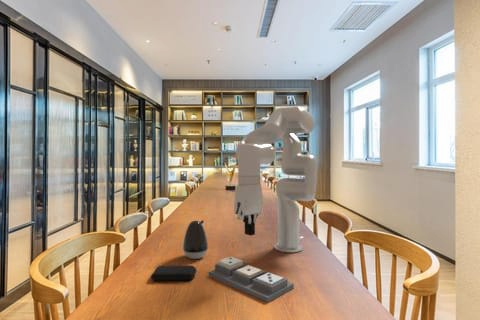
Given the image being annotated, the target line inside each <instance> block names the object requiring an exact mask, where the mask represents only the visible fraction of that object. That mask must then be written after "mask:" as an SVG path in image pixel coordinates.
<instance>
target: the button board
mask: <svg viewBox="0 0 480 320" xmlns="http://www.w3.org/2000/svg"><path fill="white" fill-rule="evenodd" d="M245 266H247V264H245V263H244V262H242V265H241V266H238V267H236V268H233V269H227V268H225V267H222V266H220V265H219V262H218V263H216V264H215V265H214V268H213V269H212V270H209V271H208V277H210V278H212V279H214V280H217V281H219V282H222V283H223V284H225V285H228V286H229V287H233V288H234V289H237V290H239V291H240V292H243V293H245V294H248V295H249V296H252V297H254V298H256V299H258V300H261V301H263V302H265V303H270V302H272V301H274V300H275V299H277V298H279V297H281V296H282V295H284V294H286V293H288V292H290V291H291V290H293V289H294V288H295V287H294V285H295V284H294V282H291V281H288V278H284V277H283V281H281V282H279V283H277V284H275V285H273V286H270V285H268V284H265V283H263V282H260V281H258V280H257V277H260V276H262V275H264V274H266V270H262V269H261V270H262V272H260V273H258V274H256V275H254V276H251V277H248V276H245V275H243V274H240V273H238V272H236V270H238V269H240V268H243V267H245Z"/></svg>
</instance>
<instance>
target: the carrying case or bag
mask: <svg viewBox="0 0 480 320" xmlns="http://www.w3.org/2000/svg"><path fill="white" fill-rule="evenodd" d="M196 272H197V268H196V267H195V266H194V265H181V264H179V265H158V266H157V267H156V268H155V269H154V271H153V273H152V274H151V275H150V280H151V281H152V282H154V283H179V282H180V283H182V282H183V283H188V282H191V281H192V280H193V279H194V278H195V275H196Z"/></svg>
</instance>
